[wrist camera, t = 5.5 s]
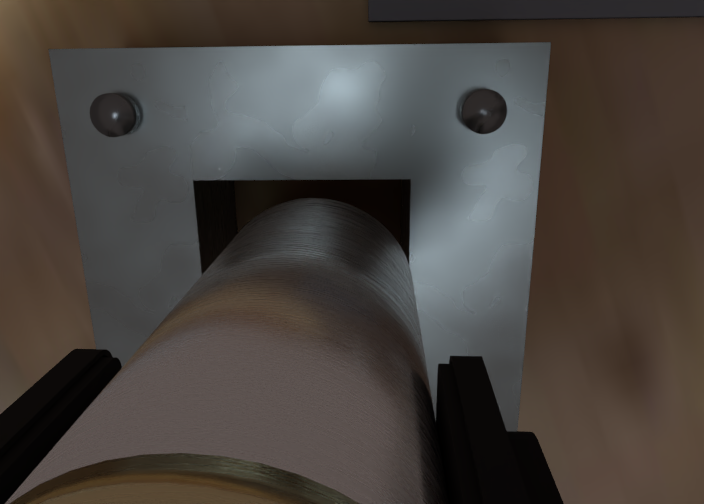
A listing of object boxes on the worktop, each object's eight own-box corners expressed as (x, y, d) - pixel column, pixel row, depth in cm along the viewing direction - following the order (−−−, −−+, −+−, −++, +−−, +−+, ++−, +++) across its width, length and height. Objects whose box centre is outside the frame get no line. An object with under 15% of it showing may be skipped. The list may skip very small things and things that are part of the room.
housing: (508, 49, 20) (557, 41, 15) (485, 395, 25) (517, 484, 19) (122, 55, 21) (36, 48, 15) (164, 392, 25) (107, 479, 20)
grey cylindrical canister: (415, 197, 16) (506, 507, 5) (411, 379, 17) (469, 928, 6) (212, 197, 16) (-173, 492, 5) (228, 377, 18) (-29, 901, 6)
